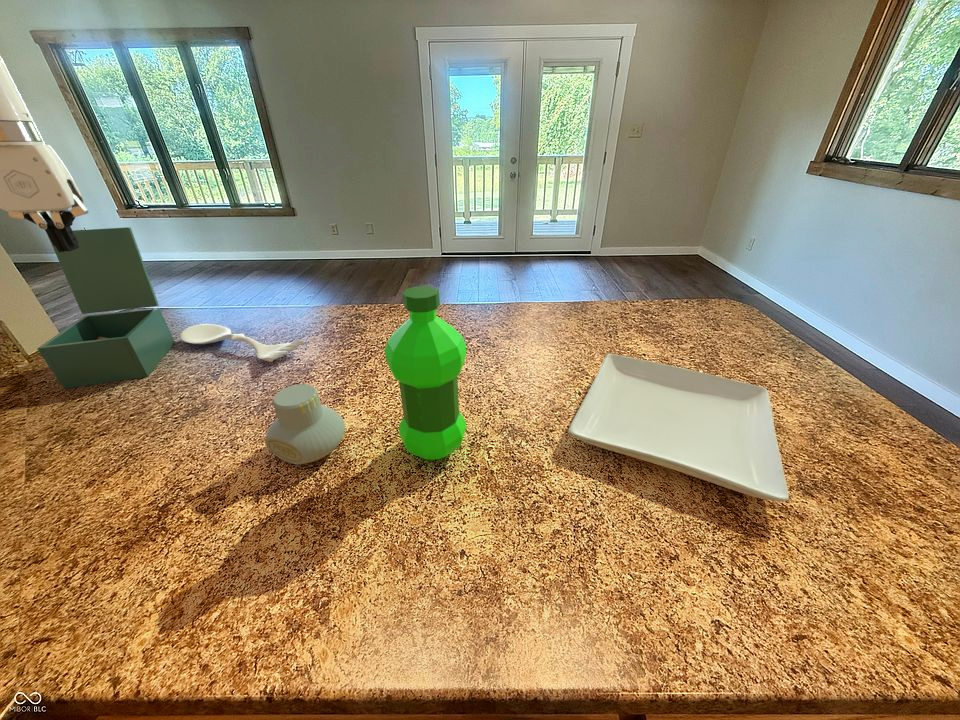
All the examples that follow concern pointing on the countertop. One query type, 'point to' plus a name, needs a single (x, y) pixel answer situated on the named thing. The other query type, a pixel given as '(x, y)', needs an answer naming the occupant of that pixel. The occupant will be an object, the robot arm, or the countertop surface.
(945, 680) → the countertop surface
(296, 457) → the air freshener
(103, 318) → the open green box
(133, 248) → the lid
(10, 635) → the countertop surface
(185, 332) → the spoon
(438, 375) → the plastic bottle
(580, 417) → the square plate
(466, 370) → the countertop surface
